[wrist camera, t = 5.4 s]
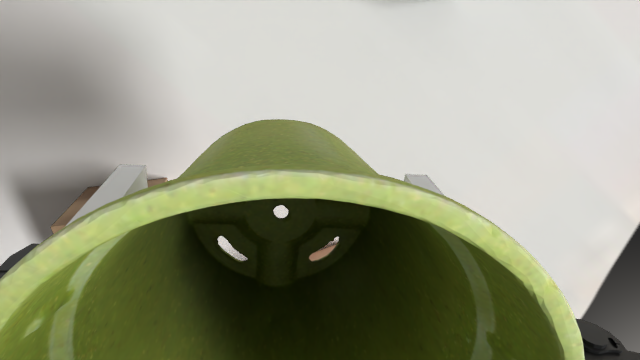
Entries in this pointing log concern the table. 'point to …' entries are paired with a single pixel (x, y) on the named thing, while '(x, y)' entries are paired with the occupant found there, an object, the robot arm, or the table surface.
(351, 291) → the plant pot
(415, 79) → the table surface
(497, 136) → the table surface
